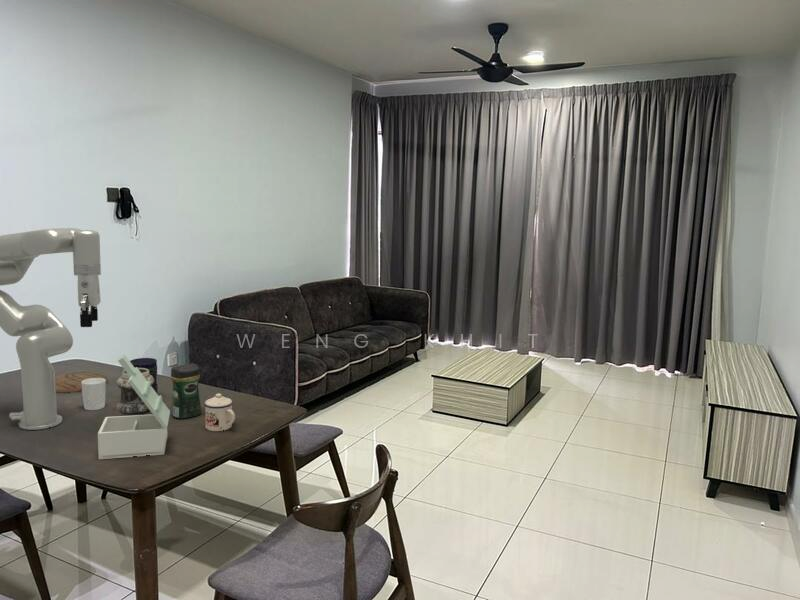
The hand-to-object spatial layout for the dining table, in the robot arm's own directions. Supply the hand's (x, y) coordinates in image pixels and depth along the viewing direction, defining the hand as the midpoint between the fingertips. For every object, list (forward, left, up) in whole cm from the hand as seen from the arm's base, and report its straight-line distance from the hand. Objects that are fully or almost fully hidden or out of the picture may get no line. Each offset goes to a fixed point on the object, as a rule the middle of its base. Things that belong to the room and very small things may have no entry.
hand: (89, 323), depth 192 cm
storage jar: (+12, +33, -36) cm, 51 cm away
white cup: (-4, +26, -36) cm, 45 cm away
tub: (+14, -15, -36) cm, 42 cm away
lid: (+17, -15, -18) cm, 29 cm away
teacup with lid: (+40, -3, -36) cm, 54 cm away
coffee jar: (+28, +12, -36) cm, 48 cm away
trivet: (-17, +57, -37) cm, 70 cm away
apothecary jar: (+12, +9, -36) cm, 39 cm away
